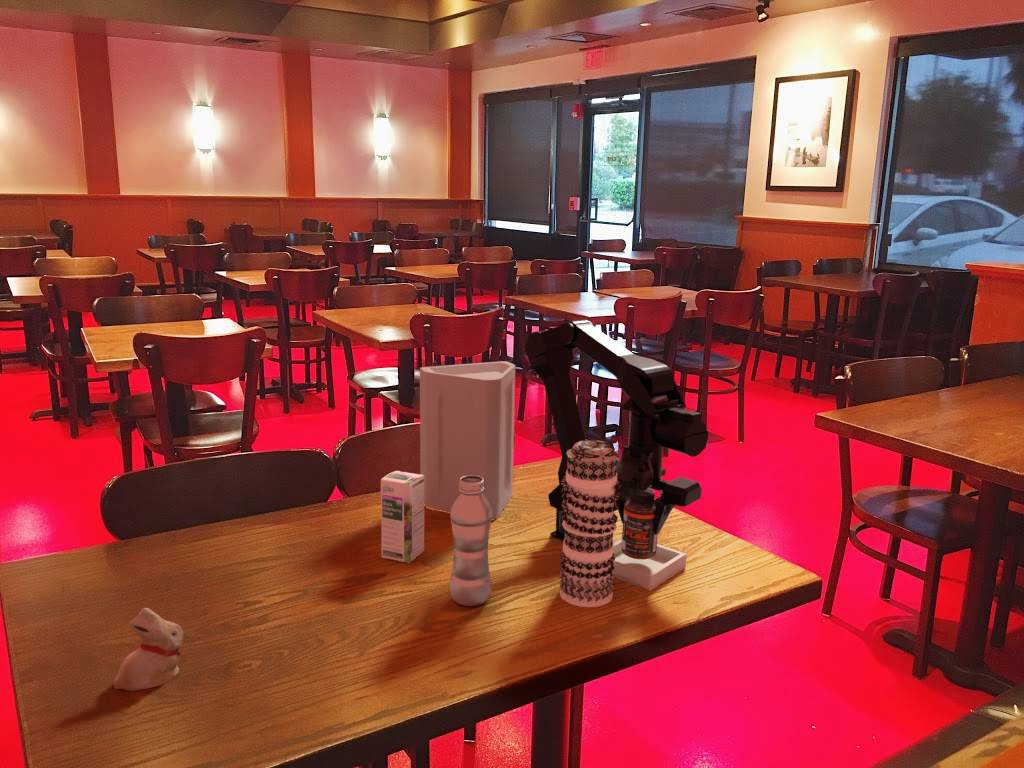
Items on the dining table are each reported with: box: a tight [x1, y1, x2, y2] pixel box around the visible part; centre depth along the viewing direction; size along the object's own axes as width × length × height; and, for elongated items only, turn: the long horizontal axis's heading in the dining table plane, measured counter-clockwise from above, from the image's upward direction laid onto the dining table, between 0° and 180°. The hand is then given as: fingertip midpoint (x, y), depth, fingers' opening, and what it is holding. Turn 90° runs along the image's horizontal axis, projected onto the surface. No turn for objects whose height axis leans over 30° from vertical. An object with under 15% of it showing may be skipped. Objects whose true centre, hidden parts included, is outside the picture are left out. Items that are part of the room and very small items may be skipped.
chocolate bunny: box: [113, 607, 184, 692], centre depth 105 cm, size 6×8×10 cm
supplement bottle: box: [621, 488, 658, 559], centre depth 138 cm, size 6×6×11 cm
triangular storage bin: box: [419, 360, 516, 521], centre depth 162 cm, size 19×15×28 cm
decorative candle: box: [559, 439, 622, 608], centre depth 128 cm, size 9×9×25 cm
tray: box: [612, 538, 687, 591], centre depth 140 cm, size 12×12×2 cm
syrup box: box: [380, 470, 425, 564], centre depth 141 cm, size 6×6×14 cm
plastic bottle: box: [449, 475, 492, 607], centre depth 125 cm, size 6×7×20 cm
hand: (640, 528), depth 139 cm, fingers closed on supplement bottle, 6 cm apart
